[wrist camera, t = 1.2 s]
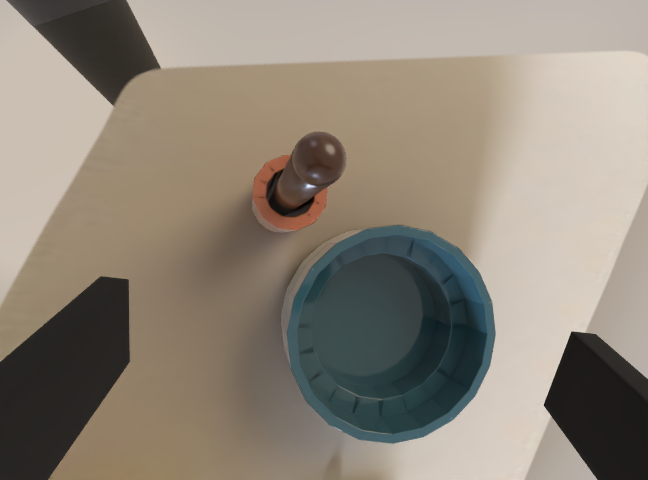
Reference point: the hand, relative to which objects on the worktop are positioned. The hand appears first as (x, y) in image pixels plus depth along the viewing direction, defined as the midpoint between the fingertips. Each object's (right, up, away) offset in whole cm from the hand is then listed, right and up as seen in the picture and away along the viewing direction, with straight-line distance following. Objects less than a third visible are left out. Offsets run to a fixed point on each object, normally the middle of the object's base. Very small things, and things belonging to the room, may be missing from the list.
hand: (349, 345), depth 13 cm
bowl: (+3, -4, +24) cm, 24 cm away
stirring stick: (-4, +6, +22) cm, 23 cm away
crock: (-4, +6, +22) cm, 24 cm away
